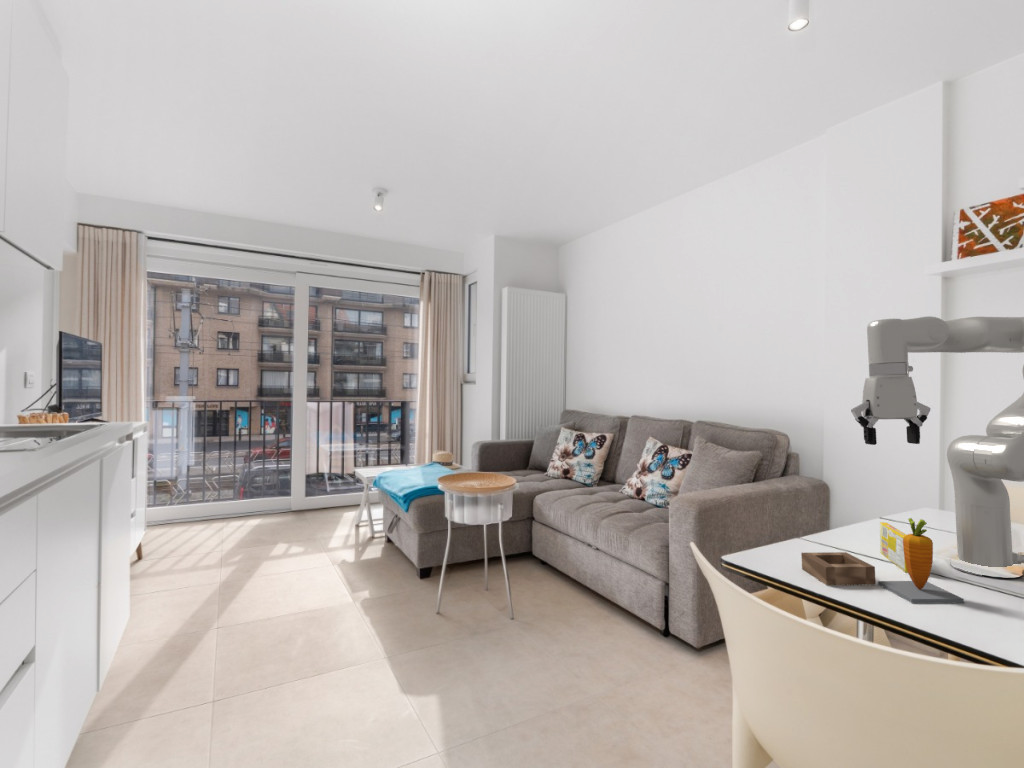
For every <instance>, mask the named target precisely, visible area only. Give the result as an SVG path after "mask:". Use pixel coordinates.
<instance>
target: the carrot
mask: <svg viewBox="0 0 1024 768" xmlns="http://www.w3.org/2000/svg"><path fill="white" fill-rule="evenodd" d="M907 520H908V522H909V524H910V529H911V532H912V533H908V534H906V536H905V537H904V538H903V548H904V558H905V563H906V567H907V570H908V573H907V574H908V575H909V578H910V581H913V583H914V585H915V586H916V587H917V588H918V589H919V590H920V589H922V588H923V587H924V585H925V584H926V582H929V581H928V580H929V578H930V575H931V572H932V568H933V567H932V566H933V562H934V561H933V558H934V557H933V556H934V542H933V540H932V539H931V538H930V537H929V536H926V535H924V534H925V533H926V532H927V529H923V527H924V526H925V525H927V524H928V523H927V521H926V520H924V519H919V521H918V522H917V525H916V523H915V522H916V521H914V520H913V519H912V517H909V518H908V519H907Z"/></svg>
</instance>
